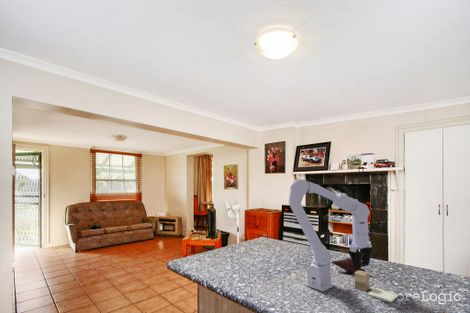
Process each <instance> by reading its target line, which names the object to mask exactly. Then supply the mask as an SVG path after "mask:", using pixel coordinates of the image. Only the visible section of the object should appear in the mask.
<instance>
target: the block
mask: <svg viewBox="0 0 470 313" xmlns="http://www.w3.org/2000/svg"><path fill="white" fill-rule="evenodd" d="M370 283H371V282H370V272H367V271H365V272H364V271H360V270H359V271H356V272H354V289H357V290H360V291H363V292H366V290H367V291H368V290H370V289H371V288H370V285H371V284H370Z"/></svg>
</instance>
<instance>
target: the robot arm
mask: <svg viewBox="0 0 470 313" xmlns="http://www.w3.org/2000/svg"><path fill="white" fill-rule="evenodd" d="M307 193H308V194H317V195H319V196H322V197H324V198H326V199H328V200H329V201H332V202H333V205H334V206H335V207H338V208H339V209H341V210H343V211H346V212H348V213H351V215H352V217H351V218H352V219H351V220H352V223H351V224H352V225H351V226H352V228H351V229H352V242H351V245H350V246H349V249H347V253H348V255H349V256H350V257H349V258H351V259H352V262H353V265H354V269H357V270H361V268H362V267H361V262H362V263H363V265H366V266H367V267H368V266H369V265H370V261H371V257H372V254H373V252H374V250H375V247H373V245H372V241H370V240H369V221H368V220H369V219H368V217H369V215H370V208H369V207H368V205H366V204H365V203H364V202H360V201H359V200H358V199H357V198H355V199H354V198H352V197H351V196H348V194H347V193H345V192H343V193H342V192H339V193H334V192H332V191H331V190H329V189H327V188H325V187H322V186H321V185H319V184H316V183H314V182H311V181H307V180H305V179H304V178H303V179H301V178H299V179H298V178H297V179H296V180H294V181H293V182H292V184H291V186H290V188H289V197H288V204H289V207H290V209H291V211H292V213H293V214H294V216H295V218H296V221H297V222H298V223H299V225H300V228H301V230H302V232H303V234H304V236H305V237H306V239H307V241H308V243H309V245H310V248H311V254H312V256H313V258H312V259H311V264H310V266H308V268H307V270H306V272H307V274H306V275H307V278H306V279H307V281H306V282H307V283H305V286H307V287H309V288H312V289H315V290H317V291H320V292H326V291H327V290H329V289H331V288H333V287H335V286H336V284H335V283H333V282H332V280H331V279H332V278H331V259H332V256H331V253H330V251H328V249H327V247H326V246H325V245H324V244H323V243H322V241H321V240H320V238H319V236H318V234H317V232H316V230H315V229H314V227H313V224H312V223H311V221H310V219H309V216H308V215H307V213H306V211H305V208H304V207H303V205H302V201H303V198H304V196H305V195H306V194H307ZM366 266H365V267H366Z"/></svg>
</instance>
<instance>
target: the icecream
mask: <svg viewBox="0 0 470 313" xmlns="http://www.w3.org/2000/svg"><path fill="white" fill-rule="evenodd" d="M330 264H332V265H335V266H337V267H339V268H340V269H342V270H344V271H345V272H346V273H347V274H349V273H351V274H353V273H355V272H357V271H359V270H357V269H354V265H353V262H352V259H351V257H349V256H347V257H346V258H344V259H340V260H333V261H330ZM362 267H363V268H362ZM364 267H366V265H363V263H362V262H361V270H360V271H364V272H366V270H365V269H364Z"/></svg>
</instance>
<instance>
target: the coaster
mask: <svg viewBox="0 0 470 313" xmlns="http://www.w3.org/2000/svg"><path fill="white" fill-rule="evenodd" d="M368 295H370V296H369V297H371V296H373V297H372V298H374V297H375V298H376V299H377V298H378V300H380V301H381V300H382V301H384V302H387V301H388V302H387V303H390V302H391V303H390V304H392V303H393V302H395V301H396V300H397V299H398V298H399V297H400V294H399V293H395V292H391V291H388V290H385V289H381V288H378V287H376V288H373V289H371V290H370V291H369V292H367V296H368ZM398 296H399V297H398ZM397 297H398V298H397ZM396 298H397V299H396ZM395 299H396V300H395Z"/></svg>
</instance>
